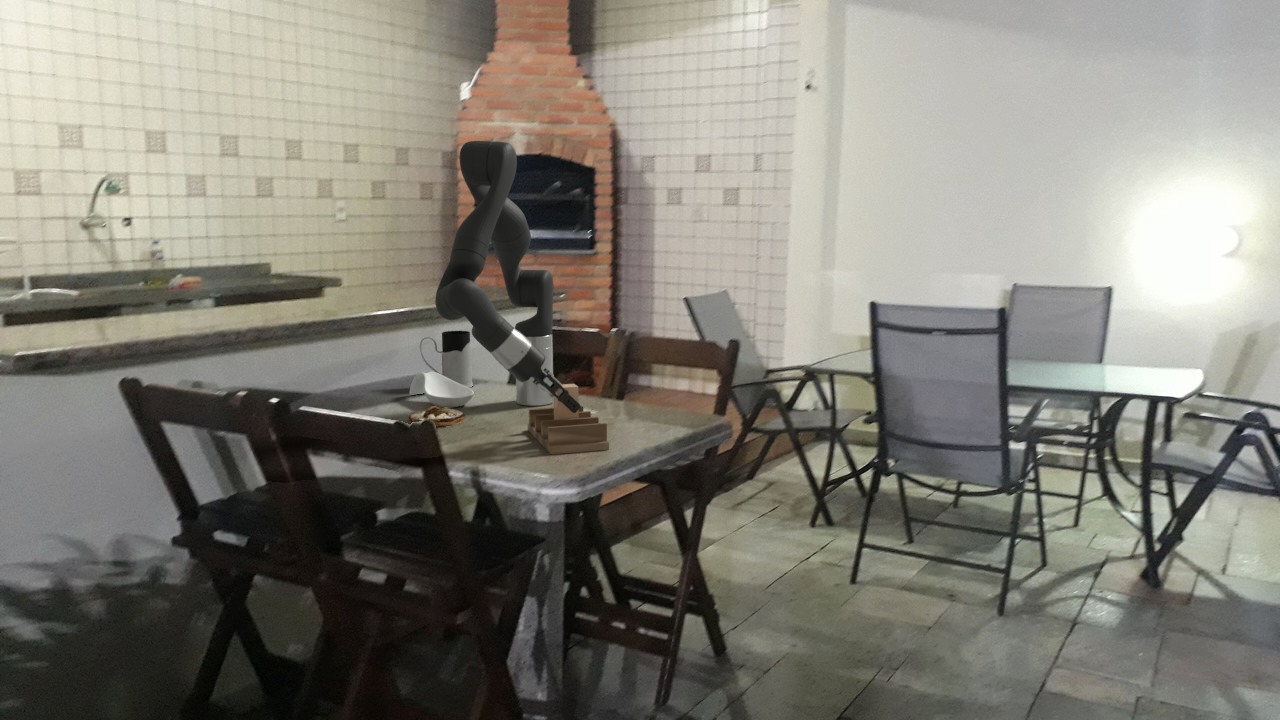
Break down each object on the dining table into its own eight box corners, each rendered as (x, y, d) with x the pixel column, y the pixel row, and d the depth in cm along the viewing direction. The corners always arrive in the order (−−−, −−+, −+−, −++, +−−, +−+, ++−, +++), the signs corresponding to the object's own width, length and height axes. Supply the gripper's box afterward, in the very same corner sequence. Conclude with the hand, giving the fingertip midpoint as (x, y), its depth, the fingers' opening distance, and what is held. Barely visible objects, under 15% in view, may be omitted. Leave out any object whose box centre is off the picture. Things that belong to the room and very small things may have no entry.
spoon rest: (482, 407, 232) (482, 378, 231) (440, 413, 225) (439, 384, 223) (436, 393, 250) (435, 366, 249) (395, 398, 242) (394, 371, 241)
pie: (458, 414, 225) (458, 396, 224) (478, 426, 212) (477, 408, 211) (396, 420, 218) (396, 402, 217) (412, 433, 205) (412, 415, 204)
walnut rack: (527, 430, 206) (527, 407, 206) (580, 426, 210) (580, 404, 210) (550, 454, 186) (550, 429, 185) (609, 449, 190) (608, 425, 189)
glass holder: (470, 389, 253) (469, 334, 251) (418, 389, 253) (416, 334, 251) (476, 383, 262) (474, 330, 260) (424, 383, 262) (422, 330, 259)
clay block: (553, 431, 199) (553, 385, 197) (574, 429, 200) (574, 383, 199) (557, 435, 195) (557, 387, 194) (578, 433, 197) (578, 386, 195)
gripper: (537, 345, 186) (593, 398, 191) (522, 336, 199) (575, 386, 204) (511, 373, 185) (568, 426, 190) (498, 362, 198) (552, 412, 204)
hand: (572, 405), depth 197 cm, fingers open, 8 cm apart
